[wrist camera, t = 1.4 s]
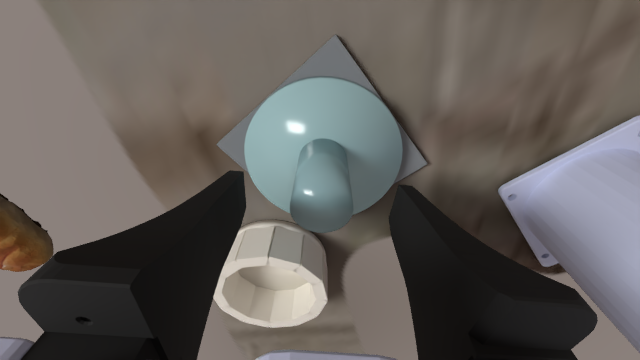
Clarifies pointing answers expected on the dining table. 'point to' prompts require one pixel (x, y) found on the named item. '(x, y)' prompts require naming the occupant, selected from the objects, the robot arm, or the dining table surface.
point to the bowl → (274, 275)
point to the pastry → (21, 239)
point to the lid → (323, 150)
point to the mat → (324, 63)
